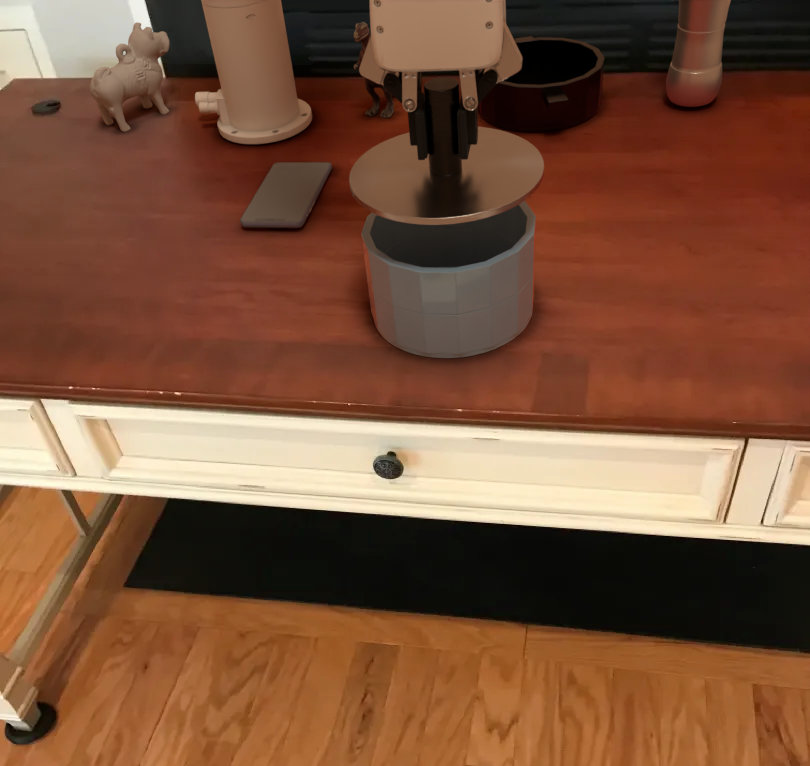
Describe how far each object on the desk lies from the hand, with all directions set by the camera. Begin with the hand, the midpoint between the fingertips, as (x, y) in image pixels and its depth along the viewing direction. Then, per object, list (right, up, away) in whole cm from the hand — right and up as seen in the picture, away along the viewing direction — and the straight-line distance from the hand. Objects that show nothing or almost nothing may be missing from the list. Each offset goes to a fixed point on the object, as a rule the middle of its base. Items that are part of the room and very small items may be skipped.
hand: (444, 150), depth 76 cm
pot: (+1, -10, +12) cm, 16 cm away
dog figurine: (-40, +26, +50) cm, 69 cm away
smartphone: (-17, +7, +30) cm, 35 cm away
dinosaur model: (-5, +26, +45) cm, 53 cm away
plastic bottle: (+33, +22, +38) cm, 55 cm away
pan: (+14, +23, +41) cm, 49 cm away
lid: (0, -1, +2) cm, 2 cm away
